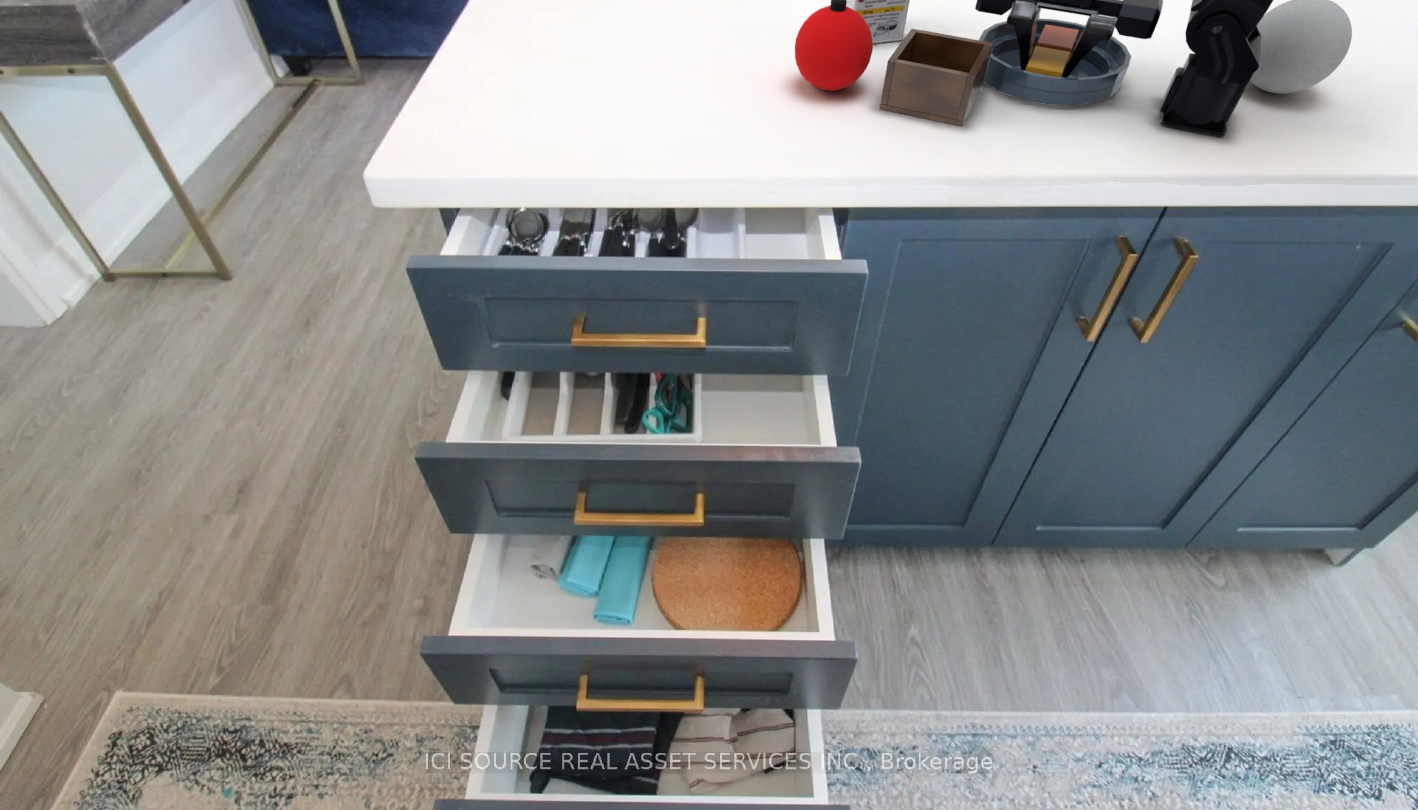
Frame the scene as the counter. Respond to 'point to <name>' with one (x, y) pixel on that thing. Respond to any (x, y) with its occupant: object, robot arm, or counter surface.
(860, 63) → the ornament
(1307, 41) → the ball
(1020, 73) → the bowl
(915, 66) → the holder
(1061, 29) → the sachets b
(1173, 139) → the counter surface
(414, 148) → the counter surface
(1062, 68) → the yellow block
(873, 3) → the container
